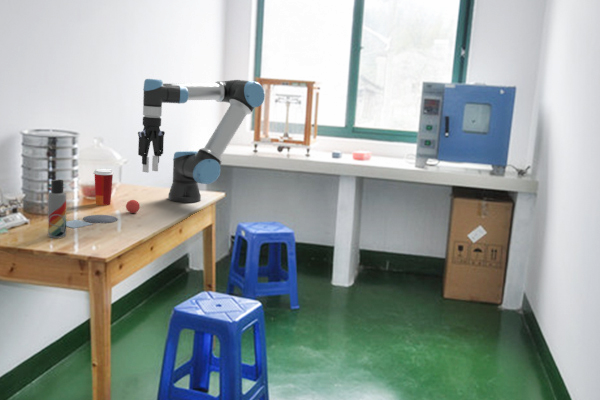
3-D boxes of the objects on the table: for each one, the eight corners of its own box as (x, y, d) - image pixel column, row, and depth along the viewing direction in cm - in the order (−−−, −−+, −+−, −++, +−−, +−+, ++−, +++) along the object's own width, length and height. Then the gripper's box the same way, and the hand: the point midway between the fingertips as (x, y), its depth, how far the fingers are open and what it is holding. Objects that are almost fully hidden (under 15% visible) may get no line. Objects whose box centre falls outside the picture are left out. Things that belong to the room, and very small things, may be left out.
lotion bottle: (57, 239, 205) (58, 181, 202) (44, 236, 207) (44, 179, 203) (69, 235, 211) (70, 179, 207) (56, 232, 213) (56, 177, 209)
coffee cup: (112, 202, 268) (113, 169, 265) (113, 206, 260) (113, 172, 257) (92, 201, 265) (93, 168, 262) (92, 206, 257) (93, 171, 254)
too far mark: (77, 220, 232) (77, 219, 232) (93, 224, 228) (93, 223, 228) (57, 223, 225) (57, 223, 225) (73, 228, 220) (73, 227, 220)
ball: (132, 210, 255) (133, 198, 254) (142, 213, 252) (142, 200, 251) (122, 212, 250) (123, 199, 249) (132, 215, 247) (132, 202, 246)
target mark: (102, 213, 245) (102, 213, 245) (124, 219, 239) (124, 219, 239) (75, 218, 234) (75, 218, 234) (98, 224, 228) (98, 224, 228)
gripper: (160, 115, 261) (158, 168, 265) (129, 115, 245) (128, 172, 250) (173, 117, 257) (171, 170, 262) (143, 117, 242) (141, 174, 246)
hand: (150, 171), depth 256 cm, fingers open, 5 cm apart
